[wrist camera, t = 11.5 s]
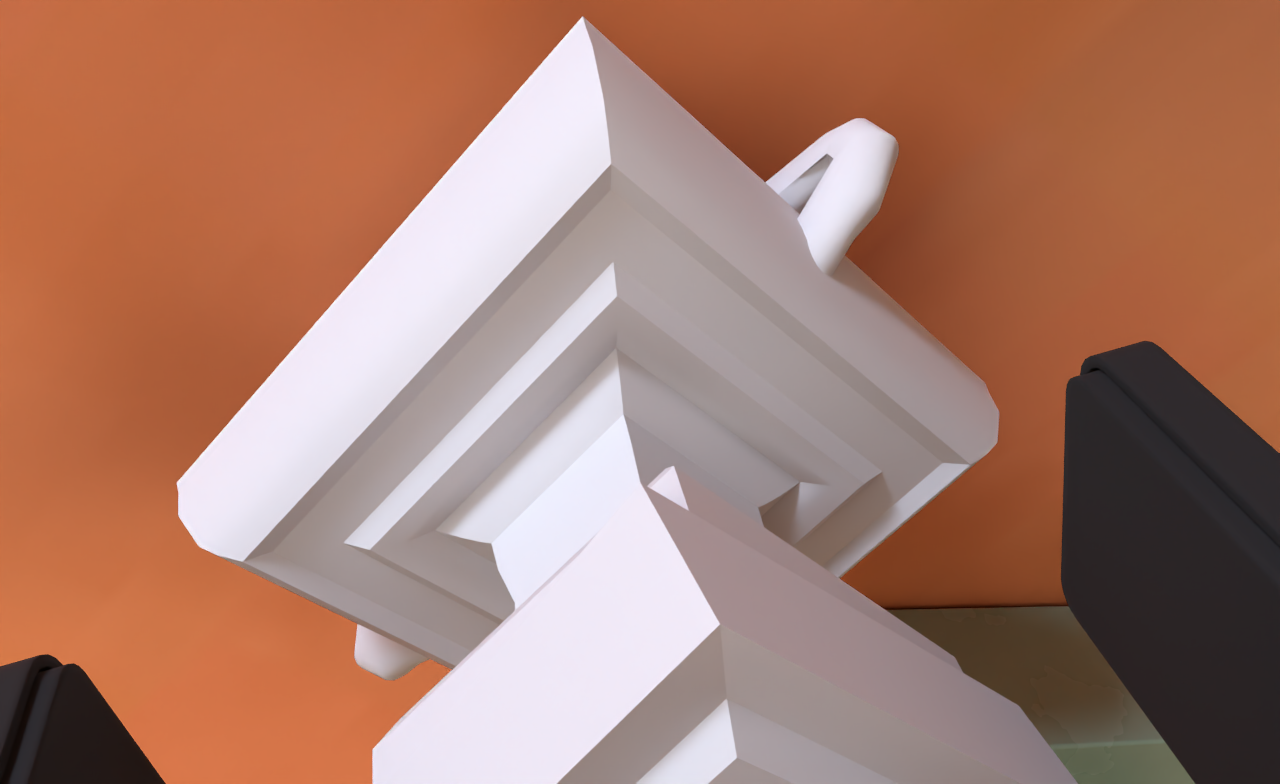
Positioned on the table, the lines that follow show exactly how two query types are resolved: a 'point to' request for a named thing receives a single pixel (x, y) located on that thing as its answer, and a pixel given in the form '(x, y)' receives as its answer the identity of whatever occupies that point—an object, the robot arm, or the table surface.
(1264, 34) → the table surface
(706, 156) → the white square urn
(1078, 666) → the green base plate
